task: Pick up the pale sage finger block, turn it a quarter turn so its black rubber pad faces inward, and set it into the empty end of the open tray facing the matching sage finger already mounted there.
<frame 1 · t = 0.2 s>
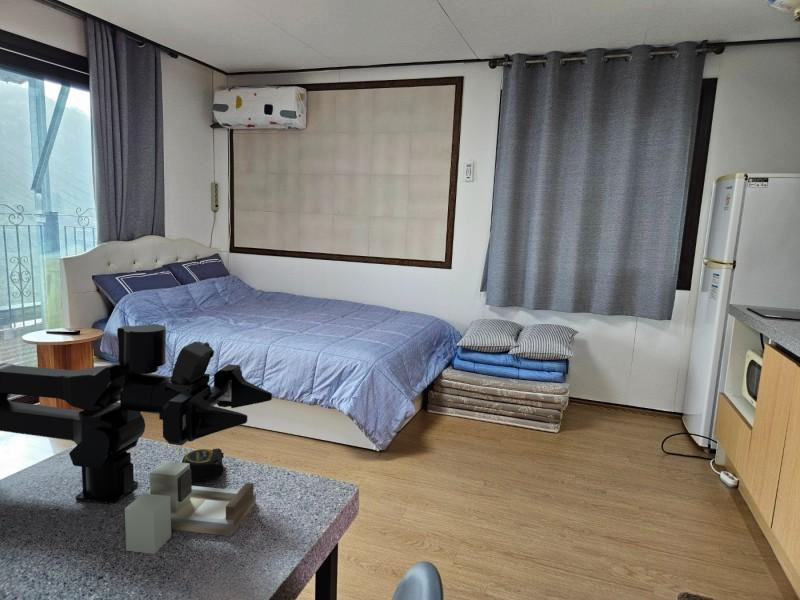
hand: (260, 407, 78), 16 cm above the table, fingers open, 9 cm apart
finger block: (149, 543, 72), on the table
open tray: (199, 513, 79), on the table
tape measure: (207, 475, 92), on the table
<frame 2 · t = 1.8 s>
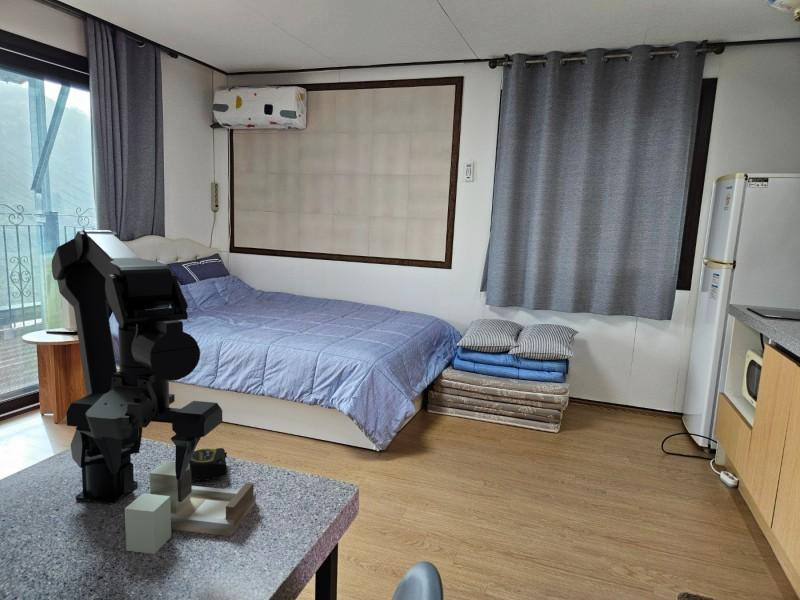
hand: (147, 475, 70), 10 cm above the table, fingers open, 9 cm apart
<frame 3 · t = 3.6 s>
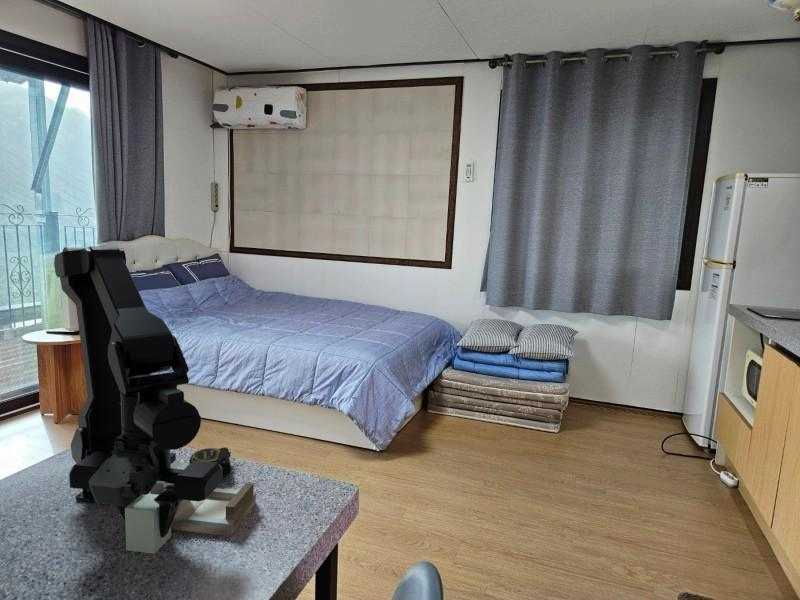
hand: (149, 533, 72), 1 cm above the table, fingers closed on finger block, 4 cm apart
finger block: (149, 543, 72), on the table, touching gripper
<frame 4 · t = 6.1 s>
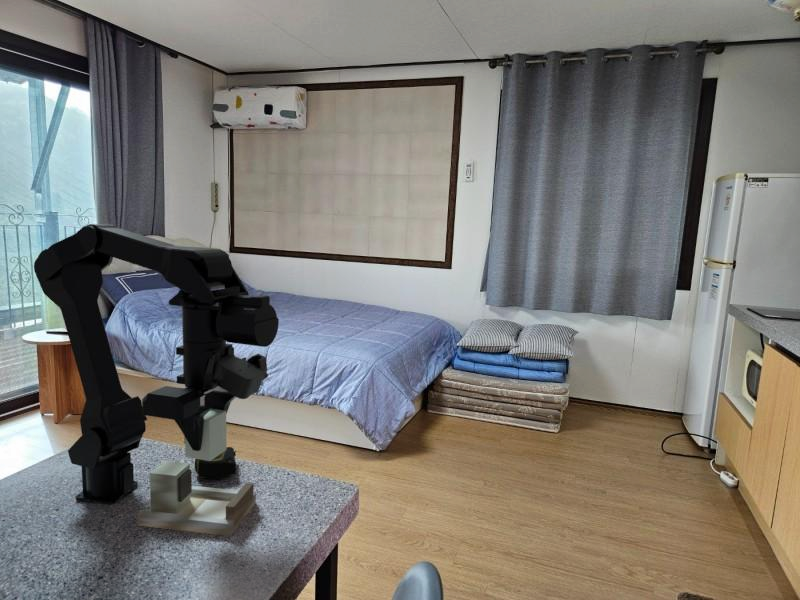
hand: (206, 444, 76), 12 cm above the table, fingers closed on finger block, 4 cm apart
finger block: (206, 453, 76), point 10 cm above the table, touching gripper
when the fingers open (3 cm above the table, at t = 8.5 s): finger block stays where it is, resting on open tray.
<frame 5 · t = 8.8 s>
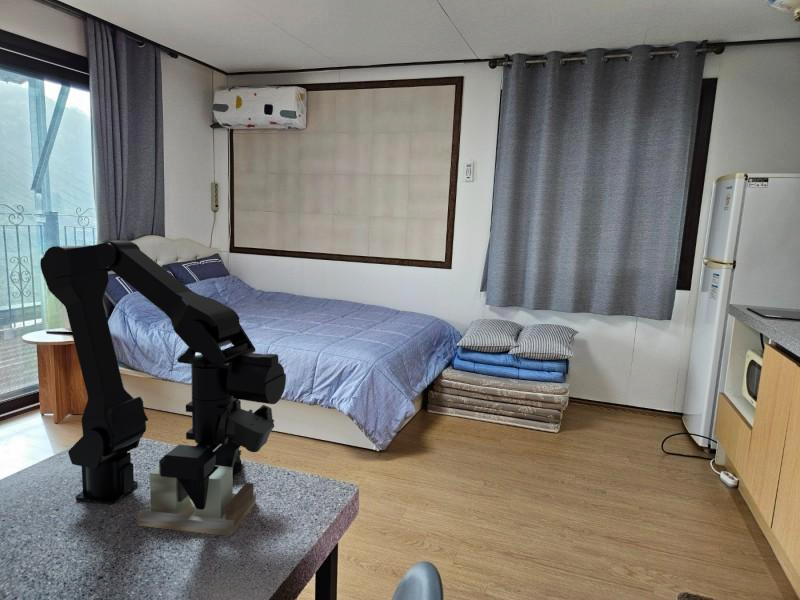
hand: (213, 495, 78), 3 cm above the table, fingers open, 7 cm apart
finger block: (214, 509, 79), point 1 cm above the table, touching open tray
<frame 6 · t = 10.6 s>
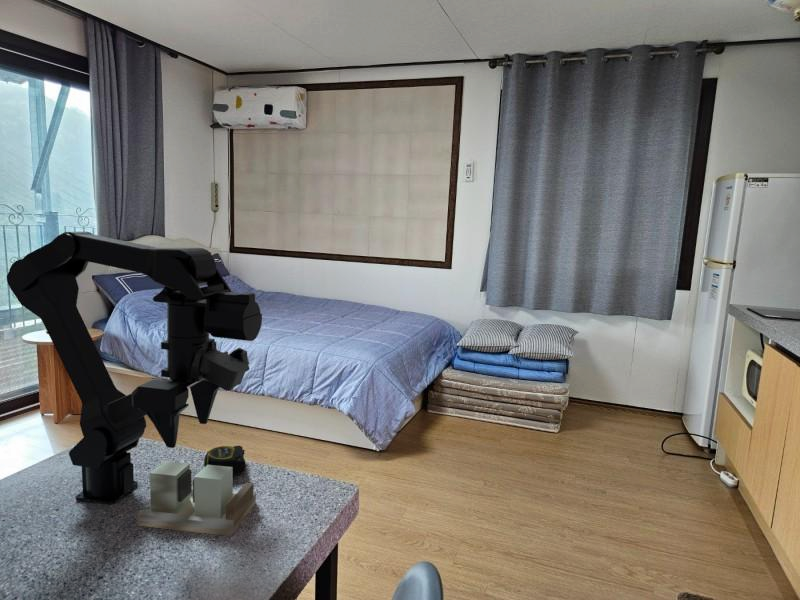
hand: (188, 434, 80), 11 cm above the table, fingers open, 9 cm apart
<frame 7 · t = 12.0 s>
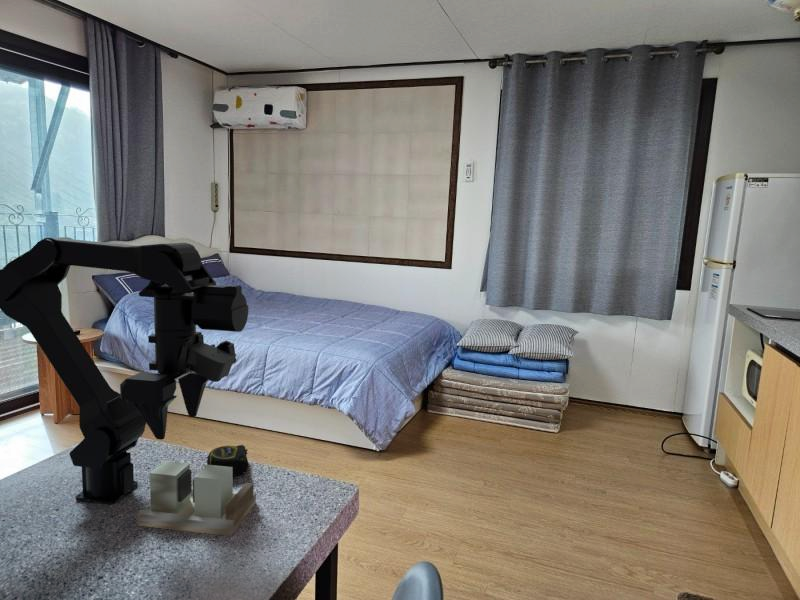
hand: (177, 427, 81), 12 cm above the table, fingers open, 9 cm apart
at the end: finger block 0.1 cm from the target spot on the open tray, point 0.9 cm above the open tray's base; finger block tilted 0°; the gripper is holding nothing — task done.
